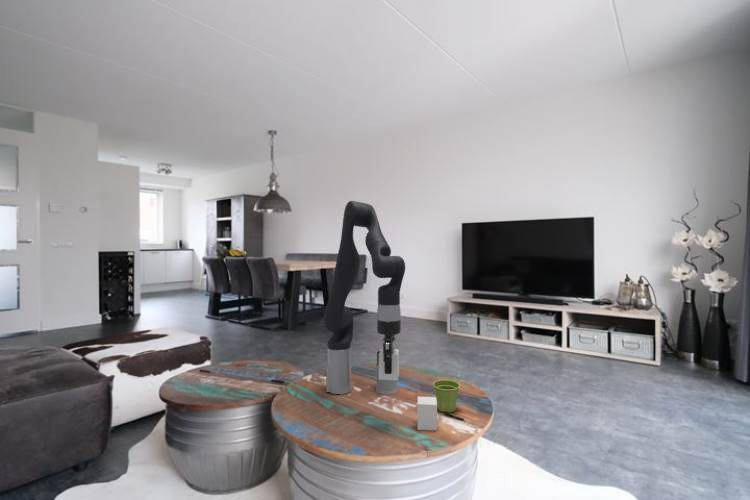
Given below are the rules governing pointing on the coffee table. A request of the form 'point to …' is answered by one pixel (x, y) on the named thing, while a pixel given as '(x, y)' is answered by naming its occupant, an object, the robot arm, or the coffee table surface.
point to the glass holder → (385, 383)
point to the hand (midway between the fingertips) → (389, 369)
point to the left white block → (395, 366)
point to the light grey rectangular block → (427, 413)
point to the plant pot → (446, 394)
